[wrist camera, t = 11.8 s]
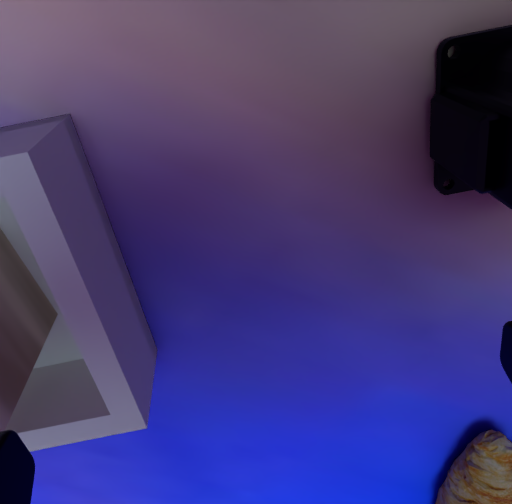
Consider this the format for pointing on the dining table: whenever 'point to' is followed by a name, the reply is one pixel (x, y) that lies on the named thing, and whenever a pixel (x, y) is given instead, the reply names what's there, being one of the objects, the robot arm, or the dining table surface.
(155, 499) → the dining table surface
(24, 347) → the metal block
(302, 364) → the dining table surface
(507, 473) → the croissant
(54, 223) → the box
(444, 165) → the robot arm
